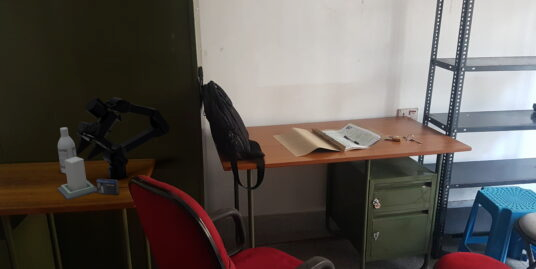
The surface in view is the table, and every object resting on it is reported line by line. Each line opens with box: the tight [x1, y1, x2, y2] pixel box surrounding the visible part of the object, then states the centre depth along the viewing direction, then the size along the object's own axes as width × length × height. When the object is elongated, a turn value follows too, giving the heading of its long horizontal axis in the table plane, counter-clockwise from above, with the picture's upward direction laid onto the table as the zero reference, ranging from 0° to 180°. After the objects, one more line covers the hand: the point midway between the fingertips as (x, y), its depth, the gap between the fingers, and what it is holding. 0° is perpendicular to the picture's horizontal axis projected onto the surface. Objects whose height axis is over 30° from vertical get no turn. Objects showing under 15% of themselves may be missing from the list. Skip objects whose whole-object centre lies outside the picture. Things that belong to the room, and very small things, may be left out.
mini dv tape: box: [96, 178, 120, 196], centre depth 170 cm, size 8×2×6 cm, turn 80°
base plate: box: [57, 179, 98, 201], centre depth 173 cm, size 12×12×2 cm
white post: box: [64, 156, 87, 191], centre depth 171 cm, size 5×5×12 cm
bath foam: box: [57, 126, 78, 174], centre depth 189 cm, size 7×7×20 cm
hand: (82, 156), depth 172 cm, fingers open, 8 cm apart
